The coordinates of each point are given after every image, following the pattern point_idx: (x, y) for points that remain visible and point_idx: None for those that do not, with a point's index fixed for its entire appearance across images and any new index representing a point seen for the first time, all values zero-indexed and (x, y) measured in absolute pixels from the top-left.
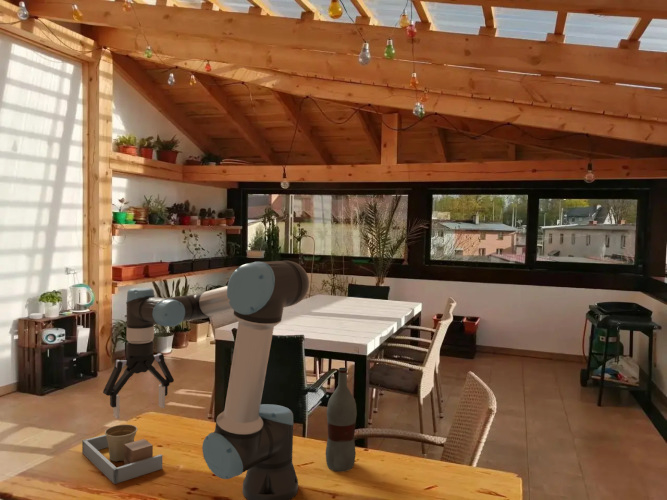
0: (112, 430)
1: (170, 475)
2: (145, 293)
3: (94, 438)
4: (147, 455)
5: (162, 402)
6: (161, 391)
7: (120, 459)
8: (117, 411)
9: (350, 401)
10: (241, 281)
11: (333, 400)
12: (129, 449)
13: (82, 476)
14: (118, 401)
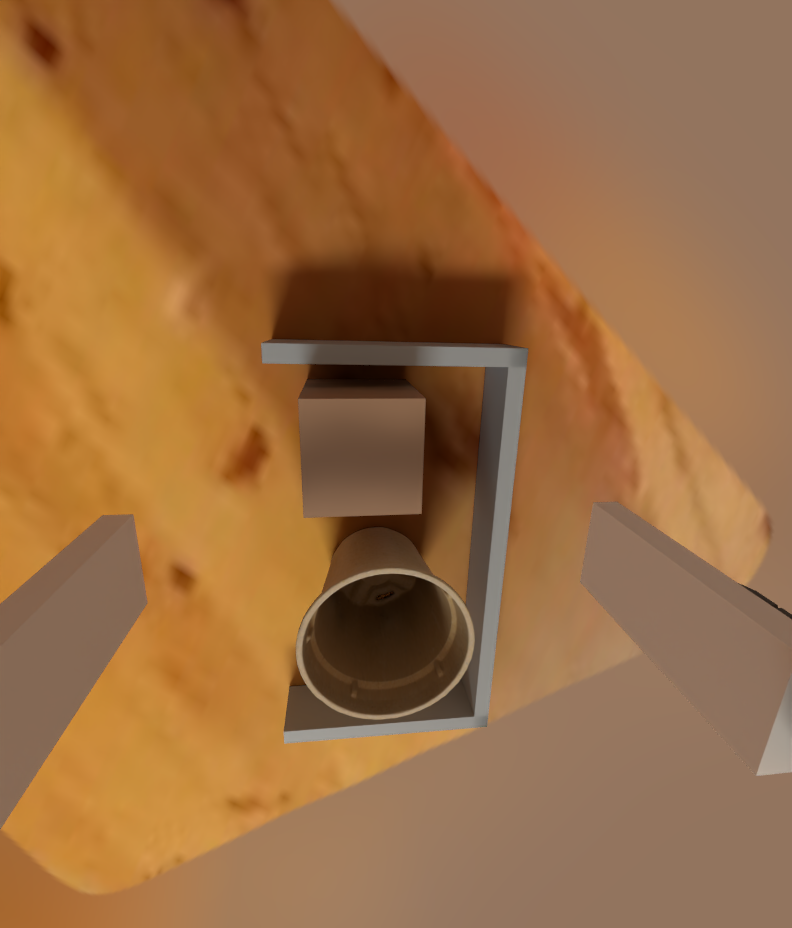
0: (403, 693)
1: (267, 238)
2: None
3: (441, 720)
4: (333, 389)
5: (101, 547)
6: (18, 676)
7: (395, 532)
8: (659, 534)
9: None
10: None
11: None
12: (423, 441)
13: (557, 496)
14: (739, 600)
